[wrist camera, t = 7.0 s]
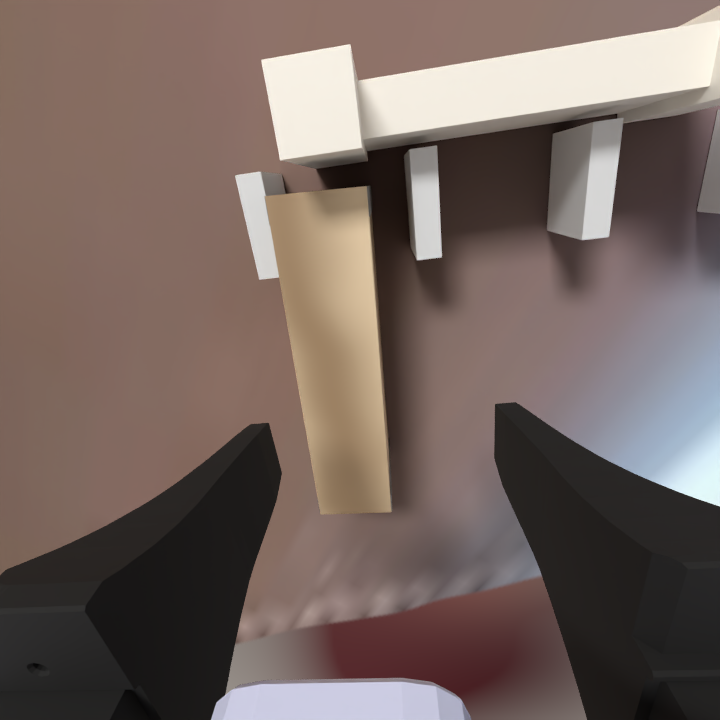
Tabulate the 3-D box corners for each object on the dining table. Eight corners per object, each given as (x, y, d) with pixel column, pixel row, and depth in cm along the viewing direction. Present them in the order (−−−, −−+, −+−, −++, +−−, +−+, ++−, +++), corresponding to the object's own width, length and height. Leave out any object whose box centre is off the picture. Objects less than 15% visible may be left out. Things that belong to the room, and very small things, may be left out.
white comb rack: (760, 33, 15) (1040, -78, 9) (720, 208, 18) (913, 222, 11) (247, 116, 17) (169, 76, 11) (278, 264, 20) (230, 302, 13)
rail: (371, 185, 18) (367, 185, 13) (390, 450, 24) (392, 512, 20) (292, 193, 18) (263, 196, 14) (330, 452, 24) (319, 514, 20)
